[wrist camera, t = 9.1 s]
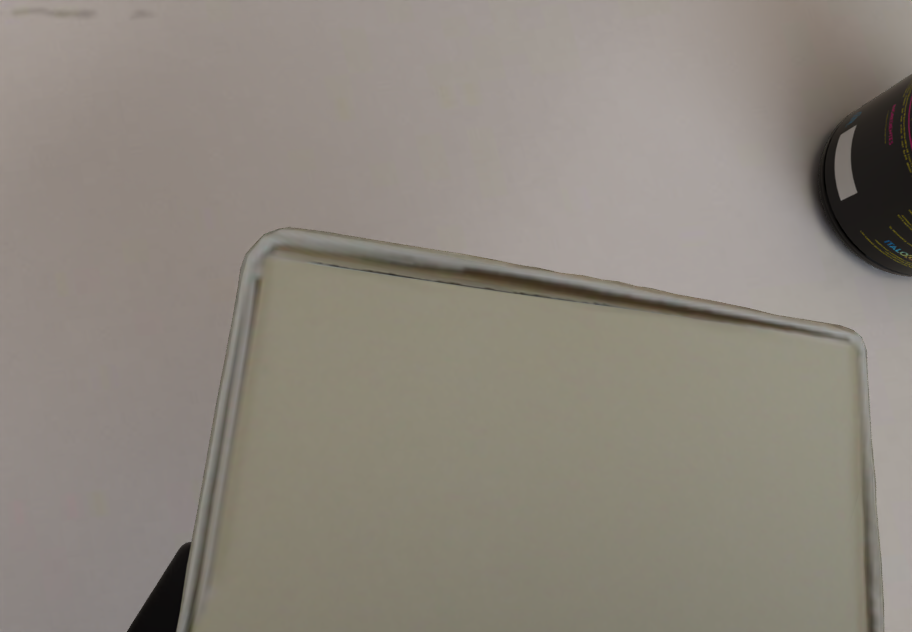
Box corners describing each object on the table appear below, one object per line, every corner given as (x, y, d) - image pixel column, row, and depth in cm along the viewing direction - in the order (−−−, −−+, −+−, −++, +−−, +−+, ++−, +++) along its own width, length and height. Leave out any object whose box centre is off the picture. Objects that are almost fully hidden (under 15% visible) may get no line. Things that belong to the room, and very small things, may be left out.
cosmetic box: (458, 728, 15) (953, 1625, 3) (245, 717, 15) (-46, 1797, 3) (487, 418, 17) (911, 311, 5) (293, 395, 16) (239, 205, 4)
